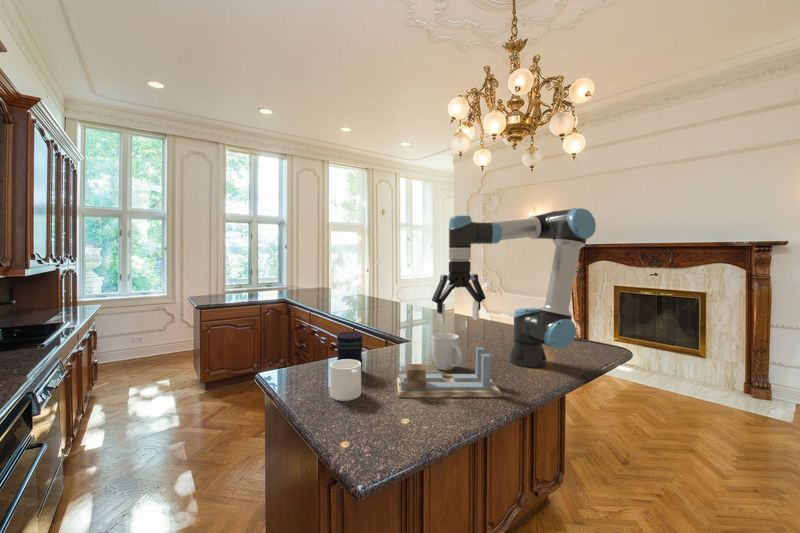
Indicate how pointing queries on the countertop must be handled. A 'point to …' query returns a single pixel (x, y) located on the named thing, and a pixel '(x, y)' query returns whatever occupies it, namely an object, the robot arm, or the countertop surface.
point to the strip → (459, 386)
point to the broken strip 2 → (477, 375)
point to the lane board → (448, 378)
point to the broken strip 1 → (427, 377)
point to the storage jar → (350, 346)
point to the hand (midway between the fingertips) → (459, 321)
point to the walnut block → (416, 376)
